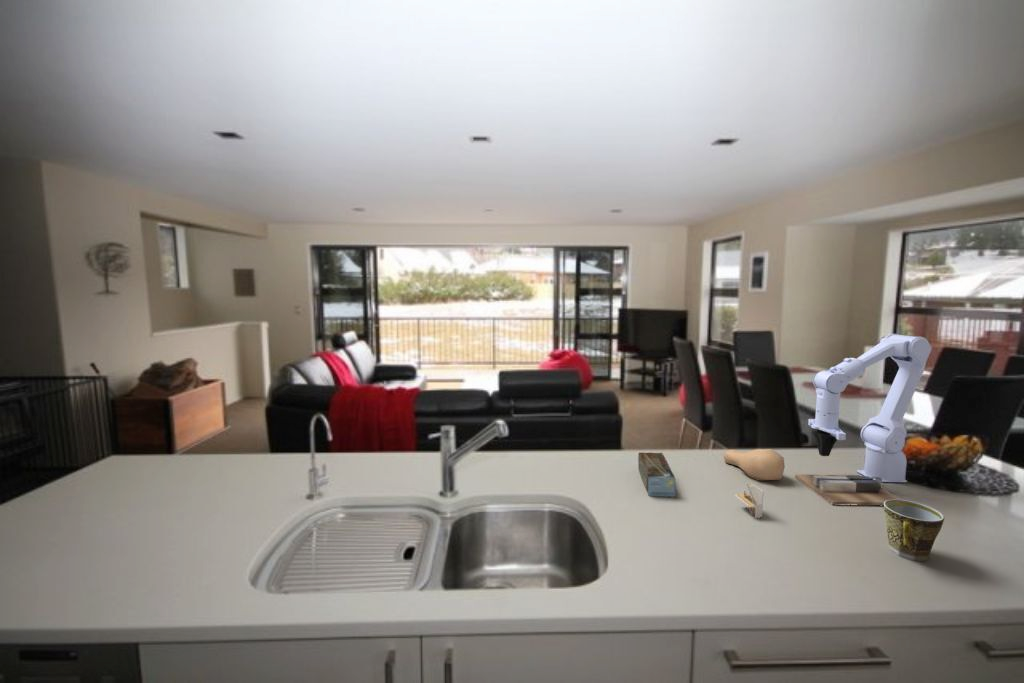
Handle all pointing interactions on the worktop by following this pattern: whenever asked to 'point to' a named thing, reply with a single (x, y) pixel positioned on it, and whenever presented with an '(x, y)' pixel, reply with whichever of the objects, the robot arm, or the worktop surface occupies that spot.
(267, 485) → the worktop surface
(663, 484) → the beverage carton
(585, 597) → the worktop surface
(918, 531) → the ceramic cup
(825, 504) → the worktop surface
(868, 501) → the board
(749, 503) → the architectural model
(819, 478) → the bar
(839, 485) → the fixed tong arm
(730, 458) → the squash
